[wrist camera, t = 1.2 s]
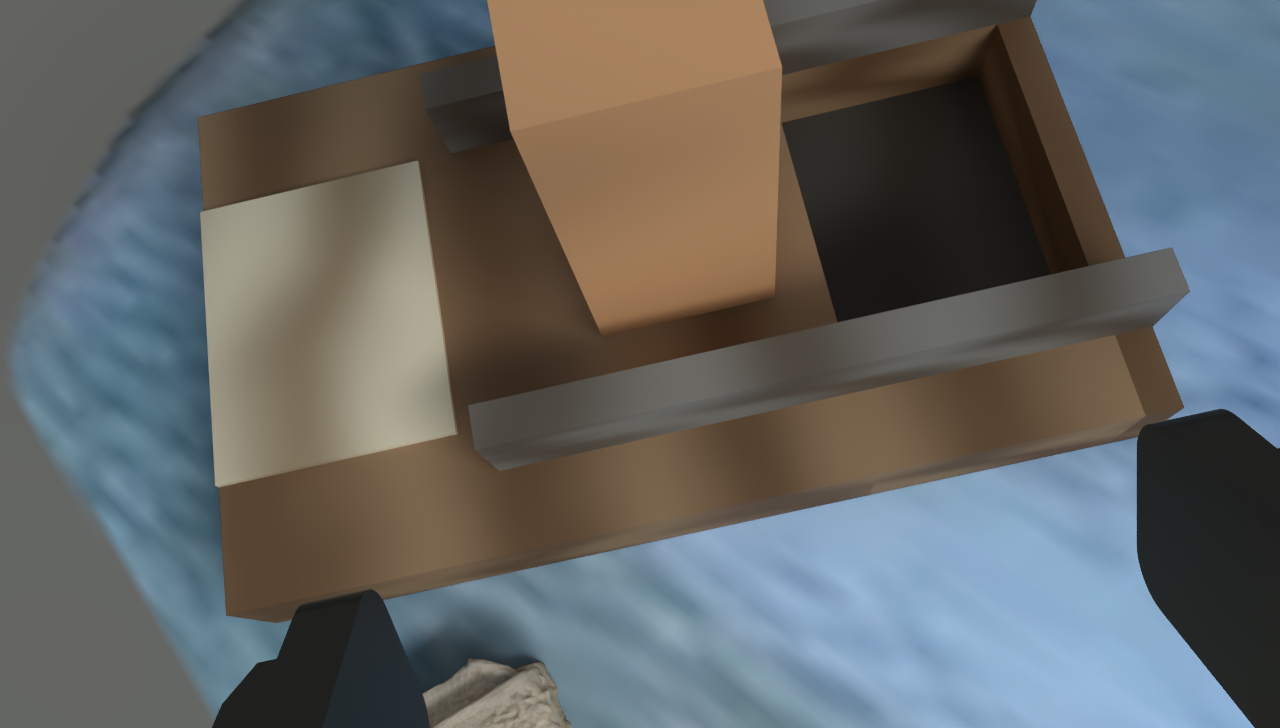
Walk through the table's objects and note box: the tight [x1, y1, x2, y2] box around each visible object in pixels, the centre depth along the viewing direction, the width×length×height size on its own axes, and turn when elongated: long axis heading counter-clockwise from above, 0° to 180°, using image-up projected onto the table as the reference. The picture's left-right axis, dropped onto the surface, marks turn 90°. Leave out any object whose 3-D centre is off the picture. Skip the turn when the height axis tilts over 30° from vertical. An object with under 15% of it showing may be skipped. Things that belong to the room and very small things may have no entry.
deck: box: [198, 0, 1190, 623], centre depth 29 cm, size 26×16×6 cm, turn 102°
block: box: [487, 0, 782, 336], centre depth 24 cm, size 5×5×11 cm
